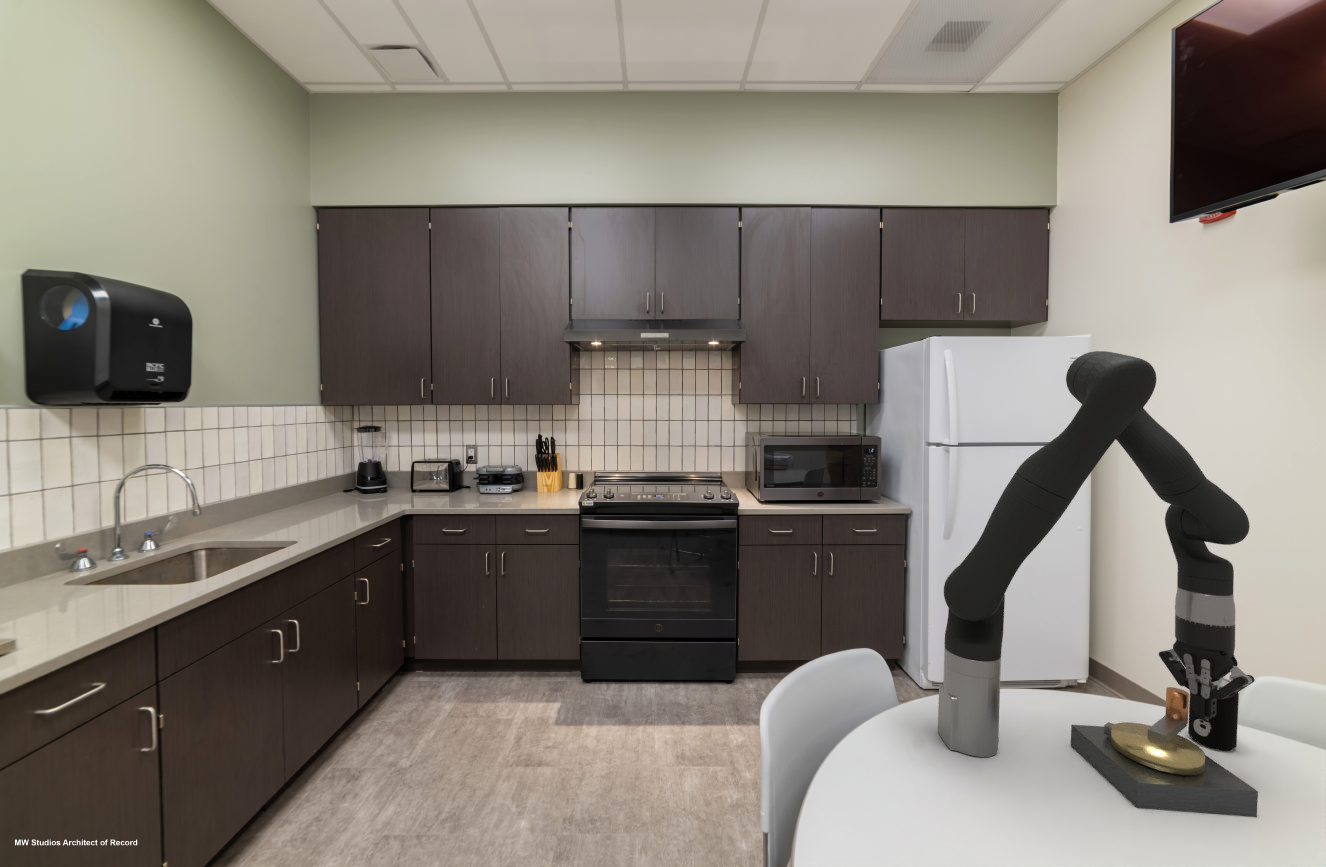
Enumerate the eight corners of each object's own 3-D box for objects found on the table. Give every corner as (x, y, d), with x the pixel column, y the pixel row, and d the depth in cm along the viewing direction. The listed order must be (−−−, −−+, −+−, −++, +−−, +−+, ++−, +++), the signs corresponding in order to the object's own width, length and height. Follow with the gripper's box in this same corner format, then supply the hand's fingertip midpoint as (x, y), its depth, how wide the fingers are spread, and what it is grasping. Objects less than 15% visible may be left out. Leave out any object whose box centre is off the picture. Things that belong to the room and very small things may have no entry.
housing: (1136, 807, 89) (1138, 781, 89) (1070, 745, 106) (1071, 723, 106) (1256, 816, 88) (1258, 789, 88) (1169, 752, 105) (1170, 729, 104)
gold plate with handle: (1191, 784, 88) (1193, 733, 88) (1092, 743, 99) (1093, 698, 99) (1224, 749, 98) (1226, 703, 98) (1130, 715, 109) (1132, 674, 109)
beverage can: (1241, 757, 103) (1244, 691, 103) (1192, 745, 107) (1195, 682, 107) (1230, 740, 109) (1233, 677, 109) (1184, 729, 113) (1186, 669, 112)
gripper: (1268, 626, 93) (1267, 732, 94) (1174, 603, 106) (1173, 696, 106) (1239, 632, 91) (1238, 740, 91) (1146, 607, 104) (1145, 702, 104)
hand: (1203, 716), depth 99 cm, fingers closed
